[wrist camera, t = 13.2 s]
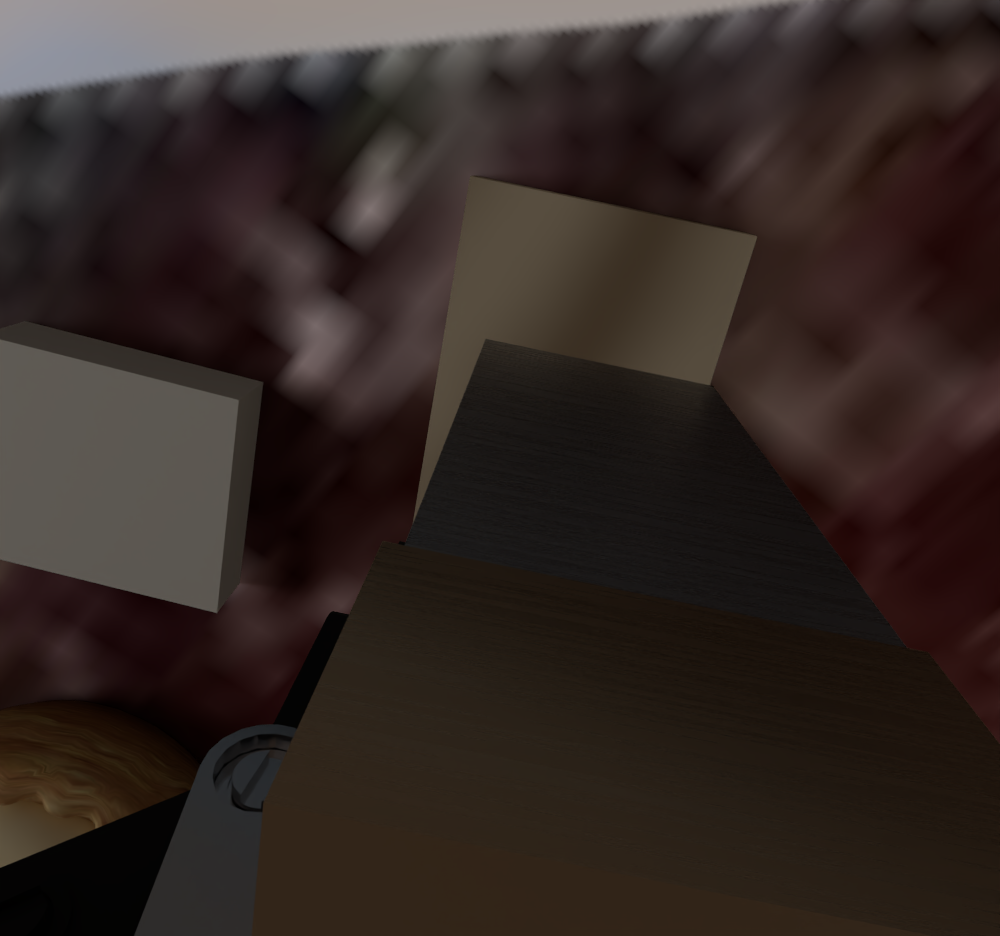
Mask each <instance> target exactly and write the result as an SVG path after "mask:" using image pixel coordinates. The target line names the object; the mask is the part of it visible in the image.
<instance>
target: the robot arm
mask: <svg viewBox="0 0 1000 936" xmlns="http://www.w3.org/2000/svg"><path fill="white" fill-rule="evenodd" d="M405 543H406V542H401V541H400V542H399V545H405ZM348 616H349V614H344V613H339V612H334V611H332V612H331V613H330V614H329V615H328V617H327V618H326V620H325V622H324V624H323V626H322V628H321V630H320V632H319V634H318V636H317V638H316V640H315V642H314V644H313V646H312V648H311V650H310V652H309V654H308V656H307V658H306V660H305V662H304V664H303V666H302V668H301V670H300V672H299V674H298V676H297V678H296V680H295V682H294V684H293V686H292V688H291V690H290V692H289V694H288V696H287V698H286V700H285V702H284V704H283V706H282V708H281V710H280V712H279V714H278V716H277V718H276V720H275V722H274V724H273V725H257V726H253V727H249V728H245V729H241V730H239V731H237V732H235V733H233V734H231V735H229V736H227V737H225V738H223V739H222V740H221V741H219V742H218V743H217V744H216V745H215V746H214V747H213V748H211V749H210V750H209V752H208V753H207V755H206V757H205V758H204V760H203V761H202V763H201V765H200V767H199V770H198V772H197V775H196V777H195V780H194V783H193V785H192V788H191V790H189V791H186V792H184V793H181V794H179V795H176V796H174V797H171V798H169V799H167V800H164V801H162V802H159V803H157V804H154V805H152V806H150V807H147V808H145V809H142V810H140V811H137V812H135V813H132V814H130V815H128V816H125V817H123V818H120V819H118V820H115V821H113V822H111V823H108V824H106V825H103V826H101V827H98V828H96V829H94V830H91V831H89V832H86V833H84V834H81V835H79V836H76V837H74V838H72V839H69V840H67V841H64V842H62V843H59V844H57V845H55V846H52V847H50V848H47V849H45V850H42V851H40V852H38V853H35V854H33V855H30V856H28V857H25V858H23V859H20V860H18V861H16V862H13V863H11V864H8V865H6V866H3V867H1V868H0V936H252V925H253V914H254V903H255V891H256V880H257V869H258V858H259V847H260V835H261V824H262V813H263V803H264V800H265V798H266V796H267V794H268V792H269V789H270V787H271V785H272V783H273V781H274V778H275V776H276V774H277V772H278V770H279V767H280V765H281V763H282V761H283V759H284V756H285V754H286V752H287V750H288V748H289V746H290V743H291V741H292V739H293V737H294V735H295V732H296V730H297V728H298V726H299V724H300V721H301V719H302V717H303V715H304V713H305V710H306V708H307V706H308V704H309V702H310V699H311V697H312V695H313V693H314V691H315V689H316V686H317V684H318V682H319V680H320V678H321V675H322V673H323V671H324V669H325V667H326V664H327V662H328V660H329V658H330V656H331V653H332V651H333V649H334V647H335V645H336V642H337V640H338V638H339V636H340V634H341V632H342V629H343V627H344V625H345V623H346V621H347V618H348Z"/></svg>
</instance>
